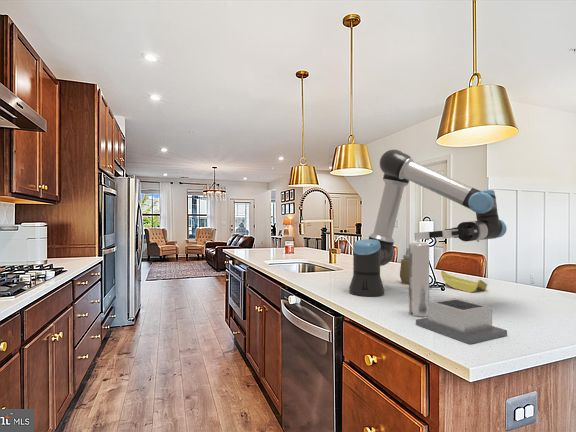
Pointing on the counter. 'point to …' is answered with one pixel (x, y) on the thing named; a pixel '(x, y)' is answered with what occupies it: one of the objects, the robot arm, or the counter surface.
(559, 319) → the counter surface
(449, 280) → the banana
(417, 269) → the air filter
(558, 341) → the counter surface
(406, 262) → the squeeze bottle
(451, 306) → the plate
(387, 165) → the robot arm
